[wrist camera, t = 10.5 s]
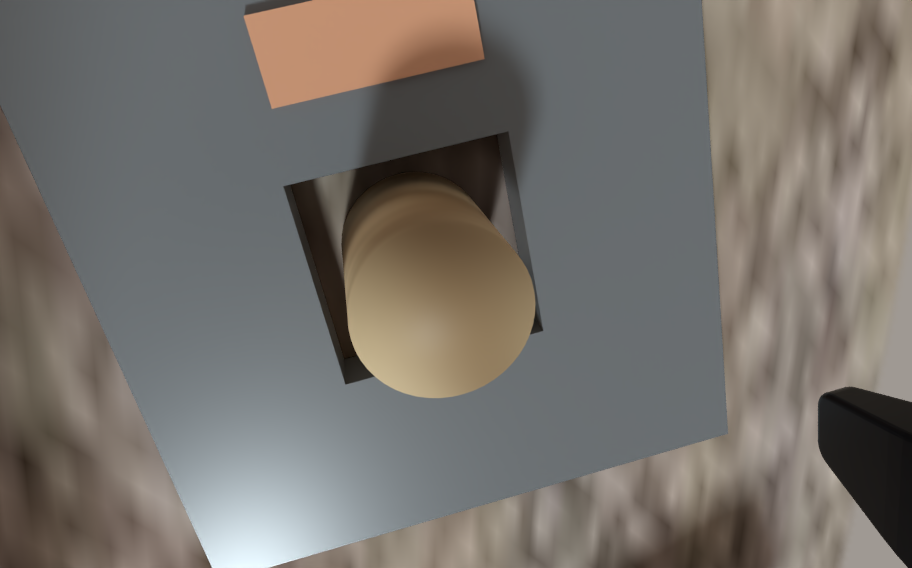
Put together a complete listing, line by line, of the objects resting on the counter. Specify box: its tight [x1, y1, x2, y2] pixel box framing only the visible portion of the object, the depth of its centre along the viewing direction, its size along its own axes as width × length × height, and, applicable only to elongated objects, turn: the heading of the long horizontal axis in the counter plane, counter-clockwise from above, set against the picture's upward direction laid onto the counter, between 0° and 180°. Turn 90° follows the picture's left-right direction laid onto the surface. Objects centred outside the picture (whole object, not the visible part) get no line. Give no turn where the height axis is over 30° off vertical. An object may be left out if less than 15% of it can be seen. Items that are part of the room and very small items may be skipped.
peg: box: [342, 172, 535, 398], centre depth 17 cm, size 4×4×5 cm
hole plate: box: [0, 0, 728, 568], centre depth 18 cm, size 16×16×2 cm
